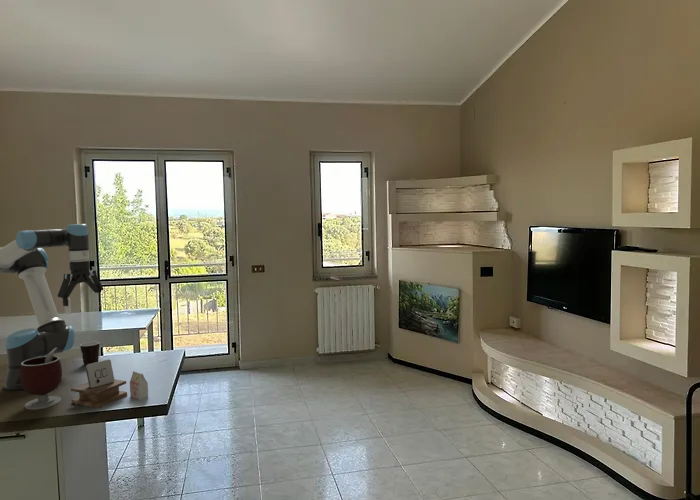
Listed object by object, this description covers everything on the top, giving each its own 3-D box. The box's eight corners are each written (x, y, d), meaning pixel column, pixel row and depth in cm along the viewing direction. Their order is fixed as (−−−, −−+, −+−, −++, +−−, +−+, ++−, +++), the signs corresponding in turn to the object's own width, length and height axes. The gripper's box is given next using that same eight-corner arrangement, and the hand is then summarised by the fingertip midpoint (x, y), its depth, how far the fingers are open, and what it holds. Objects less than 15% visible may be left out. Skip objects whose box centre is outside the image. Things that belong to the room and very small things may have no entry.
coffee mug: (85, 361, 255) (84, 342, 254) (103, 360, 256) (102, 341, 255) (75, 368, 244) (74, 348, 243) (94, 367, 245) (93, 347, 244)
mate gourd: (45, 411, 191) (42, 358, 190) (13, 409, 193) (9, 357, 192) (74, 396, 206) (71, 347, 205) (44, 394, 209) (41, 346, 207)
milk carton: (139, 394, 207) (137, 369, 207) (148, 397, 203) (147, 372, 203) (130, 396, 204) (129, 372, 204) (139, 400, 200) (138, 375, 200)
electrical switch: (91, 389, 197) (89, 365, 197) (85, 387, 200) (82, 364, 200) (115, 382, 204) (112, 359, 204) (108, 381, 207) (106, 358, 207)
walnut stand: (71, 403, 198) (70, 388, 198) (101, 391, 211) (101, 377, 211) (97, 408, 193) (96, 392, 192) (127, 395, 206) (126, 381, 205)
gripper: (58, 263, 202) (62, 316, 203) (110, 258, 224) (113, 305, 226) (45, 263, 205) (49, 315, 206) (98, 257, 227) (100, 304, 229)
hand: (82, 310), depth 216 cm, fingers open, 13 cm apart
